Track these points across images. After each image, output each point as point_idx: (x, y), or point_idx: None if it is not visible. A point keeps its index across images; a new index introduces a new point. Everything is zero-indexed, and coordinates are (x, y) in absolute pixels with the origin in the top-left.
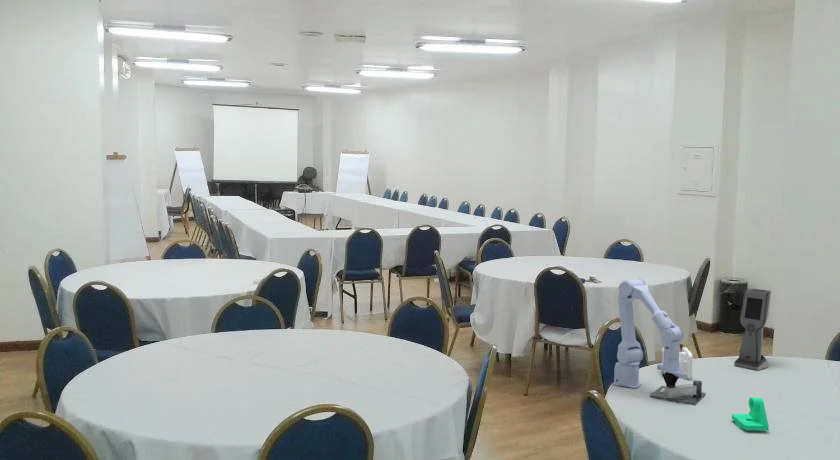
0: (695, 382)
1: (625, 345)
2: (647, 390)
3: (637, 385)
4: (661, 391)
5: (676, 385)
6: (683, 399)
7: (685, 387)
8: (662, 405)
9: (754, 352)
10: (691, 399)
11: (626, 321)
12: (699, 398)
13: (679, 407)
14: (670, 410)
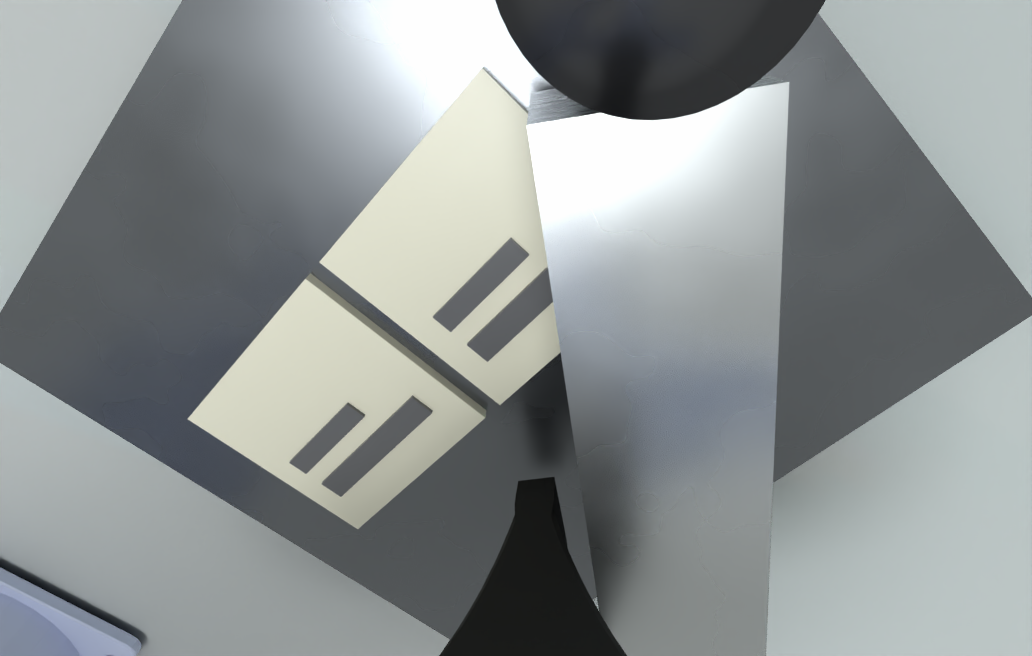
0: (737, 88)
1: None
2: (199, 557)
3: (39, 611)
4: (363, 514)
5: (598, 547)
6: (779, 388)
7: (768, 432)
8: (811, 648)
9: None
10: (831, 262)
11: None
12: (842, 63)
13: (967, 532)
14: (1002, 652)
